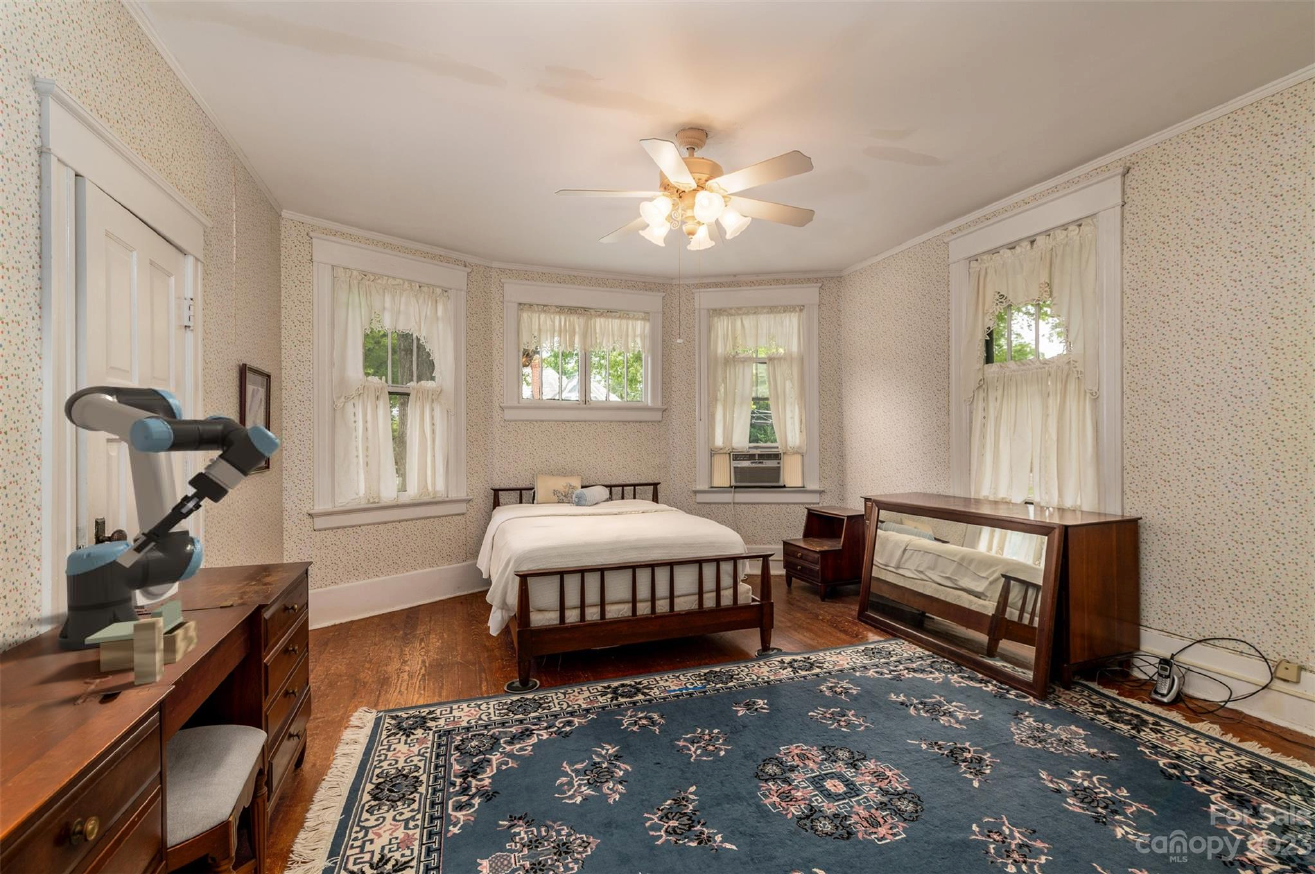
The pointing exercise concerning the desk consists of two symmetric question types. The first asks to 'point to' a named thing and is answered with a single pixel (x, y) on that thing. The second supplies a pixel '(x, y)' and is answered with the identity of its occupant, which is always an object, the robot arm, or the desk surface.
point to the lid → (125, 629)
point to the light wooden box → (174, 647)
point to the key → (91, 687)
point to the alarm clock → (153, 595)
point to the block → (148, 650)
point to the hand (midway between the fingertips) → (122, 563)
